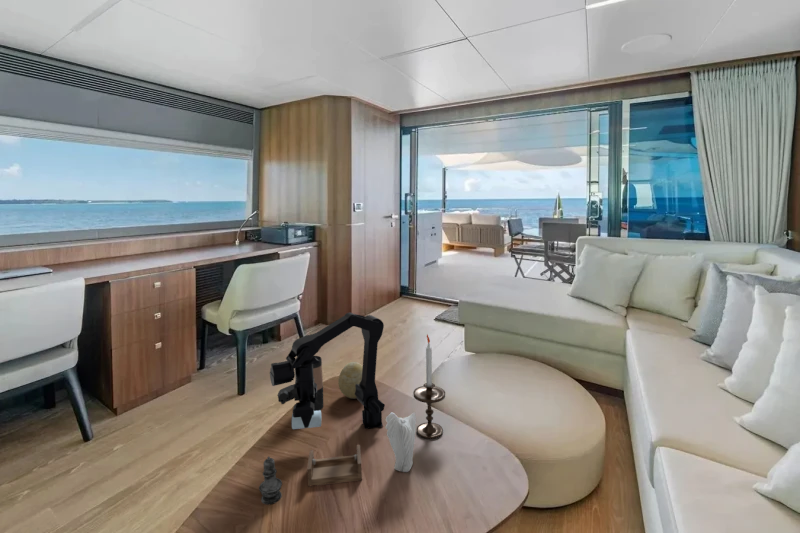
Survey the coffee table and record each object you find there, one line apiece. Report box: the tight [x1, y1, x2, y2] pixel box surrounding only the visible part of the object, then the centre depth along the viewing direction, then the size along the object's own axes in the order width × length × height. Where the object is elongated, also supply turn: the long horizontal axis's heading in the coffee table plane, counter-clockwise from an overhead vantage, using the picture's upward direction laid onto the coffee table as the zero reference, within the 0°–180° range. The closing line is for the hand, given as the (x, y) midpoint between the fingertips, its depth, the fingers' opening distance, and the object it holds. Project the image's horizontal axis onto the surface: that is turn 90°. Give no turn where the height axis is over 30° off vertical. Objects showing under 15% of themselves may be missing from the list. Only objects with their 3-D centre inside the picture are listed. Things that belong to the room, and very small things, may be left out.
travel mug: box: [313, 355, 324, 411], centre depth 151 cm, size 8×8×20 cm
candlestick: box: [412, 333, 446, 440], centre depth 131 cm, size 11×11×35 cm
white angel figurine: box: [385, 411, 417, 473], centre depth 114 cm, size 8×8×18 cm
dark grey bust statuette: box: [258, 455, 283, 506], centre depth 103 cm, size 6×6×12 cm
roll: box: [291, 409, 322, 430], centre depth 126 cm, size 9×5×5 cm, turn 98°
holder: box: [306, 444, 363, 487], centre depth 113 cm, size 15×9×5 cm, turn 98°
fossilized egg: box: [337, 361, 363, 400], centre depth 159 cm, size 13×13×15 cm
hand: (307, 423), depth 126 cm, fingers closed on roll, 5 cm apart
